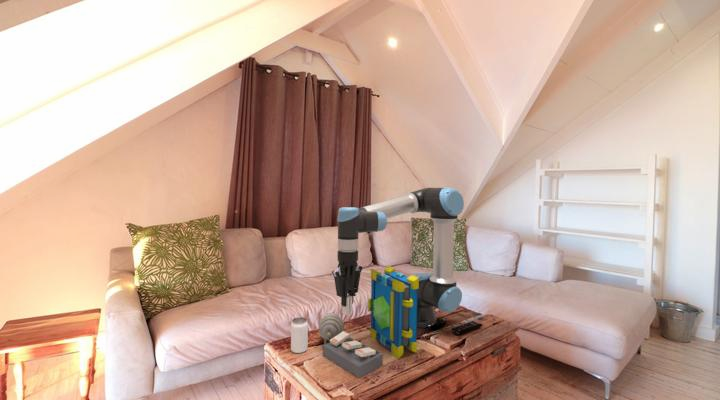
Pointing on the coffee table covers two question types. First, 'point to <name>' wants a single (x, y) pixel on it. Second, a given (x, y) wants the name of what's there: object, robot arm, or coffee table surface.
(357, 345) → the rocker
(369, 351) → the small box
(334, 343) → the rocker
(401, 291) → the decorative book
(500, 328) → the coffee table surface
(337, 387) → the coffee table surface
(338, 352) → the rocker switch panel
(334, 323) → the grey ribbed rounded piece
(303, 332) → the can
